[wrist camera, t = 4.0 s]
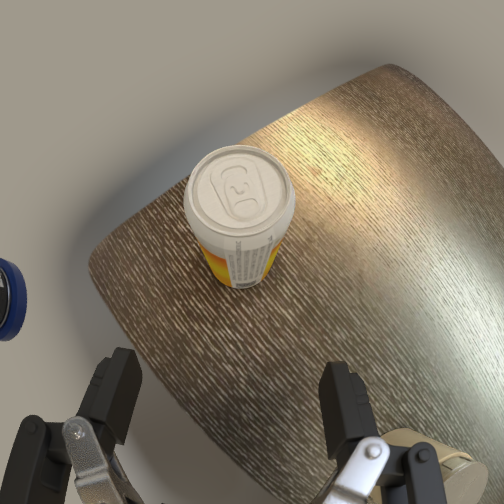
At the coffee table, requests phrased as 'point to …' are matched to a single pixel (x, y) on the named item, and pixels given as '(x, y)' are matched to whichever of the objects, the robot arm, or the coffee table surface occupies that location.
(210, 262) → the beer can
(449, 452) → the jar
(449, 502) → the jar lid
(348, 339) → the coffee table surface
